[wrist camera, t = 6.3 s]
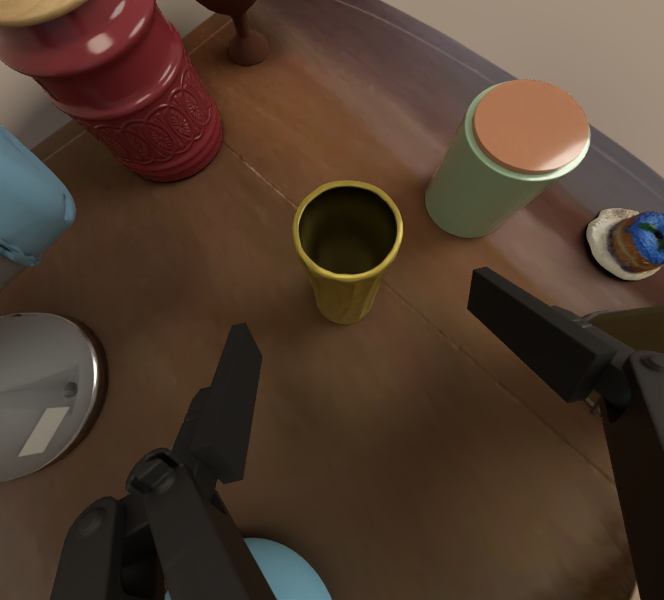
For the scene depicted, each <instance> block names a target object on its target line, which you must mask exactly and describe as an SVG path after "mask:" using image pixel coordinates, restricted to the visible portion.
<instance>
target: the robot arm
mask: <svg viewBox="0 0 664 600" xmlns="http://www.w3.org/2000/svg"><path fill="white" fill-rule="evenodd" d="M75 217H76V207H75V203H74V200H73V198H72V196H71V194H70V192H69V191H68V190H67V188H66V187H65V186H64V184H63V183H62V182H61V181H60V180H59V179H58V178H57V176H56V175H55V174H54V173H53V172H52V171H51V170H50V169H49V168H48V167H47V166H46V165H45V164H44V163H43V162H41V161H40V160H39V159H38V158H37V157H36V156H35V155H34V154H33V153H32V152H31V151H30V150H28V149H27V148H26V147H25V146H24V145H23V144H22V143H21V142H20V141H18V140H17V139H16V138H15V137H14V136H13V135H12V134H11V133H9V132H8V131H7V130H6V129H5V128H4V127H2V126H1V125H0V291H1V290H2V289H3V288H4V287H5V286H7V285H8V284H9V283H10V282H11V281H12V280H13V279H15V278H16V277H17V276H18V275H19V274H20V273H21V272H23V271H24V270H25V269H26V268H27V267H34V266H37V265H38V264H39V263H40V262H41V260H42V254H43V253H44V252H45V251H46V250H47V249H48V248H49V247H50V246H51V245H52V244H53V243H54V242H55V241H56V240H57V239H58V238H59V237H60V236H61V235H62V234H63V233H64V232H65V231H67V230H68V229H69V228H70V226H71V225H72V224H73V222H74V220H75ZM467 309H468V310H469V311H470V312H471V313H472V314H473V315H474V316H475V317H476V318H478V319H479V320H480V321H481V322H482V323H483V324H484V325H485V326H486V327H487V328H488V329H489V330H490V331H491V332H492V333H493V334H495V335H496V336H497V337H498V338H499V339H500V340H501V341H502V342H503V343H504V344H505V345H506V346H507V347H508V348H509V349H510V350H511V351H513V352H514V353H515V354H516V355H517V356H518V357H519V358H520V359H521V360H522V361H523V362H524V363H525V364H526V365H527V366H528V367H530V368H531V369H532V370H533V371H534V372H535V373H536V374H537V375H538V376H539V377H540V378H541V379H542V380H543V381H544V382H545V383H547V384H548V385H549V386H550V387H551V388H552V389H553V390H554V391H555V392H556V393H557V394H558V395H559V396H560V397H561V398H562V399H564V400H565V401H566V402H567V403H572V402H576V401H580V400H584V399H587V397H588V396H589V394H590V393H591V391H592V390H593V389H594V390H595V391H596V392H597V393H598V394H600V395H601V396H600V398H599V399H598V400H597V402H596V403H595V405H594V406H593V407H592V409H591V413H590V414H592V415H595V414H596V412H597V411H598V410H599V409H600V412H601V416H600V417H602V422H603V426H604V431H605V436H606V440H607V445H608V450H609V454H610V459H611V464H612V468H613V473H614V478H615V482H616V487H617V492H618V496H619V501H620V506H621V510H622V515H623V520H624V525H625V529H626V534H627V539H628V543H629V548H630V553H631V557H632V562H633V567H634V571H635V576H636V581H637V585H638V590H639V595H640V599H641V600H664V354H662V353H658V352H654V351H647V350H639V351H636V350H634V349H632V348H630V347H629V346H627V345H625V344H624V343H622V342H620V341H619V340H617V339H615V338H614V337H612V336H610V335H609V334H607V333H605V332H604V331H602V330H600V329H599V328H597V327H595V326H592V324H590V323H589V322H587V321H585V320H582V318H580V317H579V316H577V315H575V314H574V313H572V312H570V311H568V310H565V309H562V308H560V307H557V306H551V307H550V306H548V305H547V304H545V303H543V302H542V301H540V300H539V299H537V298H535V297H534V296H532V295H531V294H529V293H527V292H526V291H524V290H523V289H521V288H519V287H518V286H516V285H515V284H513V283H512V282H510V281H508V280H507V279H505V278H504V277H502V276H500V275H499V274H497V273H496V272H494V271H492V270H491V269H489V268H488V267H483V268H479V269H474V270H473V274H472V281H471V287H470V294H469V301H468V307H467ZM261 362H262V355H261V353H260V351H259V349H258V347H257V345H256V343H255V341H254V339H253V337H252V335H251V333H250V331H249V329H248V327H247V325H246V323H241V324H237V325H233V326H232V327H231V330H230V333H229V336H228V339H227V341H226V344H225V347H224V350H223V353H222V355H221V358H220V361H219V364H218V367H217V370H216V372H215V375H214V378H213V381H212V384H211V386H210V387H206V388H202V389H200V390H199V392H198V393H197V394H196V396H195V397H194V398H193V399H192V402H191V404H190V407H189V409H188V413H187V414H186V416H185V419H184V423H183V424H182V426H181V429H180V431H179V433H178V436H177V438H176V441H175V443H174V446H173V448H172V451H169V450H168V449H167V448H159V449H156V450H153V451H151V452H150V453H148V454H147V455H145V456H144V457H143V458H142V459H141V460H140V461H139V462H138V463H136V465H135V466H134V468H133V469H132V470H131V472H130V473H129V476H128V478H127V480H126V489H125V490H126V491H128V492H130V493H131V494H129V495H127V496H125V497H124V498H122V499H120V500H117V499H115V498H113V497H111V496H109V497H103V498H101V499H99V500H97V501H95V502H94V503H92V504H91V505H90V506H88V507H87V508H86V509H85V510H84V511H83V512H82V513H81V514H80V515H79V516H78V517H77V519H76V520H75V522H74V523H73V525H72V526H71V527H70V529H69V531H68V534H67V536H66V538H65V541H64V545H63V549H62V553H61V557H60V561H59V565H58V569H57V573H56V577H55V581H54V585H53V589H52V593H51V597H50V600H165V588H164V577H165V580H166V584H167V587H168V590H169V594H170V597H171V600H277V598H276V597H275V595H274V593H273V591H272V589H271V588H270V586H269V584H268V582H267V580H266V579H265V577H264V575H263V573H262V571H261V570H260V568H259V566H258V564H257V562H256V560H255V559H254V557H253V555H252V553H251V551H250V550H249V548H248V546H247V544H246V542H245V541H244V539H243V537H242V535H241V533H240V532H239V530H238V528H237V526H236V524H235V523H234V521H233V519H232V517H231V515H230V514H229V512H228V510H227V508H226V506H225V505H224V503H223V501H222V499H221V497H220V496H219V494H218V492H217V491H216V490H215V486H216V482H217V478H218V479H219V480H220V481H221V482H222V483H223V484H226V483H231V482H235V481H239V480H243V476H244V470H245V463H246V457H247V451H248V444H249V438H250V432H251V425H252V419H253V413H254V406H255V400H256V394H257V387H258V381H259V375H260V368H261ZM107 385H108V365H107V359H106V355H105V352H104V349H103V347H102V344H101V342H100V341H99V339H98V337H97V336H96V335H95V333H94V332H93V331H92V330H91V329H90V328H89V327H88V326H86V325H85V324H84V323H82V322H80V321H79V320H76V319H74V318H72V317H69V316H64V315H58V314H50V313H41V312H32V313H28V312H25V313H15V314H8V315H3V316H0V483H2V482H6V481H9V480H13V479H17V478H20V477H23V476H26V475H28V474H31V473H33V472H36V471H38V470H41V469H43V468H46V467H48V466H50V465H52V464H54V463H56V462H57V461H59V460H60V459H62V458H63V457H65V456H66V455H67V454H68V453H70V452H71V451H72V450H73V449H74V448H75V447H76V446H77V445H78V444H79V443H80V442H81V441H82V440H83V439H84V437H85V436H86V435H87V433H88V432H89V431H90V429H91V428H92V426H93V425H94V423H95V421H96V419H97V417H98V415H99V413H100V411H101V408H102V405H103V403H104V399H105V395H106V391H107Z"/></svg>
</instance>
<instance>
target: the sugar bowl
mask: <svg viewBox="0 0 664 600" xmlns="http://www.w3.org/2000/svg"><path fill="white" fill-rule="evenodd" d="M243 539H244V541H245V542H246V544H247V546H248V548H249V550H250V551H251V553H252V555H253V557H254V559H255V560H256V562H257V564H258V566H259V568H260V570H261V571H262V573H263V575H264V577H265V579H266V580H267V582H268V584H269V586H270V588H271V589H272V591H273V593H274V595H275V597H276V598H277V600H332V599H331V596H330V594H329V592H328V590H327V589H326V587H325V585H324V583H323V581H322V580H321V578H320V577H319V576H318V574H317V573H316V571H315V570H314V569H313V568H312V567H311V566H310V565H309V564H308V562H307V561H306V560H304V559H303V558H302V557H301V556H300V555H299V554H297V553H296V552H294V551H293V550H291V549H290V548H288V547H286V546H284V545H282V544H280V543H277V542H275V541H271V540H267V539H261V538H243ZM165 600H171V597H170V594H169V590H168V591H167V593H166V594H165Z"/></svg>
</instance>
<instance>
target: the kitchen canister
mask: <svg viewBox="0 0 664 600" xmlns="http://www.w3.org/2000/svg"><path fill="white" fill-rule="evenodd" d="M0 60H1V61H2V62H4V63H5V64H6V65H8V66H9V67H10V68H12V69H13V70H16V71H18V72H20V73H22V74H25V75H27V76H31V77H32V78H33V79H34V80H35V81H36V82H37V83H38V84H39V85H40V86H41V87H42V88H43V90H44V93H45V94H46V96H47V98H48V99H49V100H50V101H51V102H52V103H53V104H54V105H55V106H56V107H57V108H58V109H60V110H61V111H63V112H64V113H66V114H68V115H69V116H70V117H71V118H73V119H74V120H75V121H76V122H77V123H78V124H80V125H81V126H82V127H83V128H84V129H85V130H87V131H88V132H89V133H90V134H91V135H92V136H94V137H95V138H96V139H97V140H98V141H99V142H101V143H102V144H103V145H104V146H105V147H106V148H108V149H109V150H110V151H111V153H112V154H113V155H114V156H115V157H116V158H117V159H118V160H119V161H120V162H122V163H123V164H124V165H125V166H126V167H128V168H129V169H131V170H132V171H134V172H136V173H138V174H139V175H141V176H143V177H145V178H147V179H150V180H154V181H161V182H169V181H176V180H181V179H184V178H187V177H189V176H191V175H193V174H195V173H197V172H199V171H200V170H201V169H203V168H204V167H205V166H206V165H207V164H208V163H209V162H210V161H211V160H212V159H213V158H214V156H215V155H216V153H217V152H218V150H219V148H220V145H221V142H222V138H223V126H222V122H221V119H220V115H219V112H218V109H217V106H216V104H215V103H214V101H213V98H212V97H211V95H210V94H209V92H208V91H207V90H206V89H205V87H204V85H203V83H202V81H201V79H200V77H199V75H198V73H197V71H196V69H195V67H194V66H193V64H192V62H191V60H190V58H189V56H188V54H187V52H186V50H185V48H184V46H183V45H182V40H181V38H180V35H179V33H178V32H177V30H176V28H175V26H174V25H173V24H172V23H171V22H170V21H169V20H168V19H167V18H166V17H165V16H164V15H163V14H162V13H161V11H160V9H159V8H158V6H157V4H156V0H0Z"/></svg>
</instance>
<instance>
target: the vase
mask: <svg viewBox="0 0 664 600" xmlns="http://www.w3.org/2000/svg"><path fill="white" fill-rule="evenodd" d="M292 232H293V239H294V245H295V250H296V253H297V256H298V258H299V260H300V262H301V264H302V266H303V268H304V270H305V272H306V274H307V276H308V279H309V281H310V283H311V285H312V287H313V289H314V291H315V300H316V305H317V307H318V309H319V311H320V312H321V313H322V315H323V316H324V317H325V318H327V319H328V320H330V321H332V322H335V323H338V324H351V323H355V322H358V321H360V320H361V319H363V318H364V317H365V316H366V315H367V314H368V313H369V311H370V310H371V308H372V305H373V302H374V298H375V296H376V294H377V291H378V288H379V286H380V284H381V282H382V280H383V278H384V277H385V275H386V273H387V271H388V268H389V266H390V264H391V263H392V262H393V261H394V259H395V257H396V255H397V253H398V250H399V248H400V244H401V241H402V237H403V223H402V218H401V215H400V212H399V210H398V208H397V206H396V205H395V204H394V202H393V201H392V200H391V199H390V197H389V196H388V195H387V194H386V193H385V192H383V191H382V190H381V189H379V188H377V187H375V186H373V185H371V184H368V183H364V182H358V181H351V180H342V181H335V182H330V183H327V184H324V185H322V186H320V187H319V188H317V189H316V190H314V191H313V192H312V193H311V194H309V195H308V196H307V197H306V198H305V199H304V200H303V201H302V202H301V204H300V205H299V207H298V209H297V211H296V214H295V216H294V220H293V226H292Z"/></svg>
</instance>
